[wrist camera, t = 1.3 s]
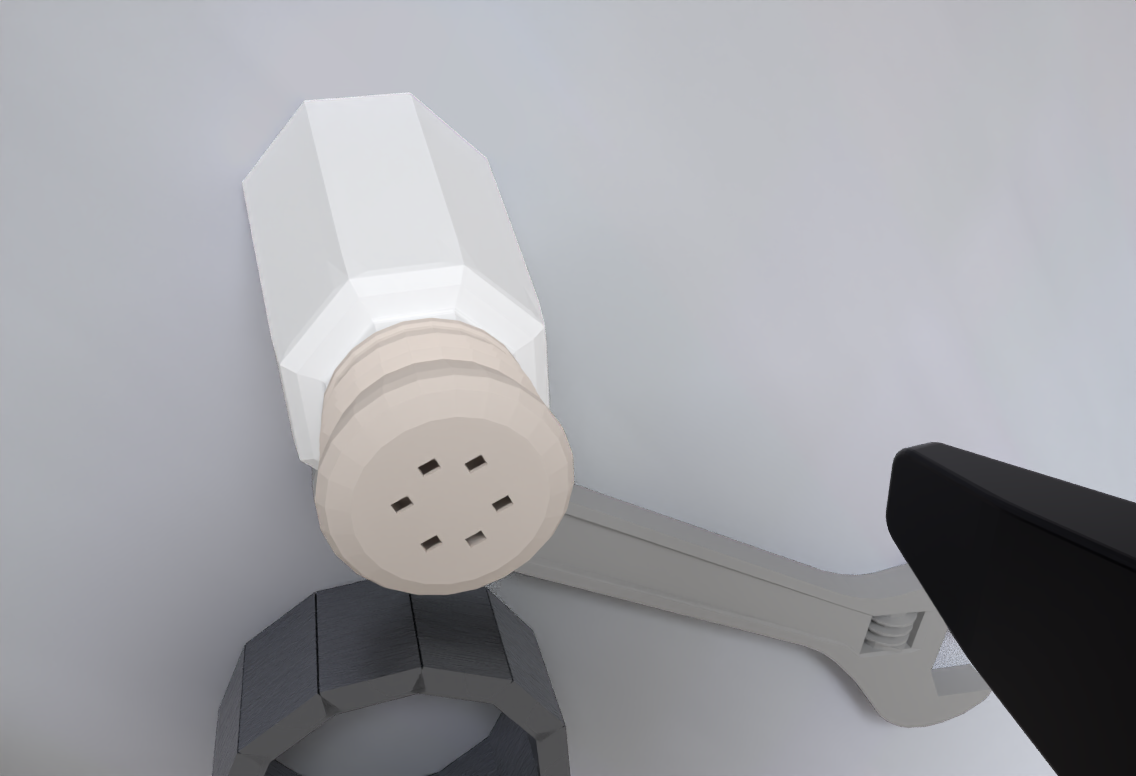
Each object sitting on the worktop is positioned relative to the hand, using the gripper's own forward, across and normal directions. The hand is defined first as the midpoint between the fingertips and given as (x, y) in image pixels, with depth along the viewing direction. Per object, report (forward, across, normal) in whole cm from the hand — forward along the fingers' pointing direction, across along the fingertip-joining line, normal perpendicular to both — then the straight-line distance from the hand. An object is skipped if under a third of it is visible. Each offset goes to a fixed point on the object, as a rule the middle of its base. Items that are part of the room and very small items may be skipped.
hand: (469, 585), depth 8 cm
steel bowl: (+12, +2, +14) cm, 19 cm away
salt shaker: (+12, 0, 0) cm, 13 cm away
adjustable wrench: (+13, -9, +12) cm, 20 cm away
